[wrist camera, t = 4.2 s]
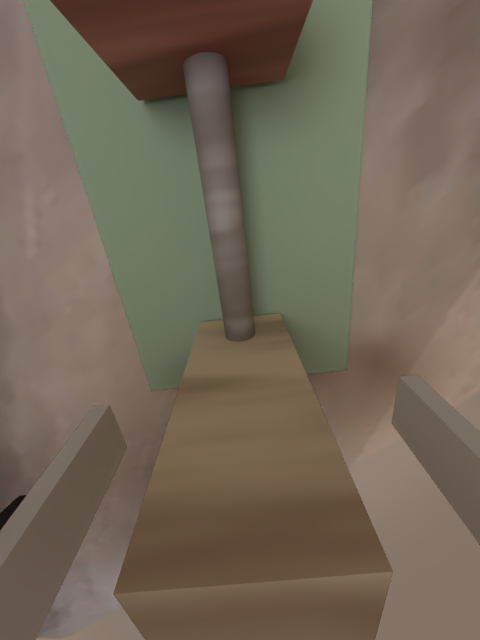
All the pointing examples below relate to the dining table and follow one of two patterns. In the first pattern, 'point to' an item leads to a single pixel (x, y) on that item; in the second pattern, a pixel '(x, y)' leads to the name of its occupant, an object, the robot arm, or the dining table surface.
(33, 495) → the robot arm
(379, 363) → the dining table surface
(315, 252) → the pitch
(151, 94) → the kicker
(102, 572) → the dining table surface
